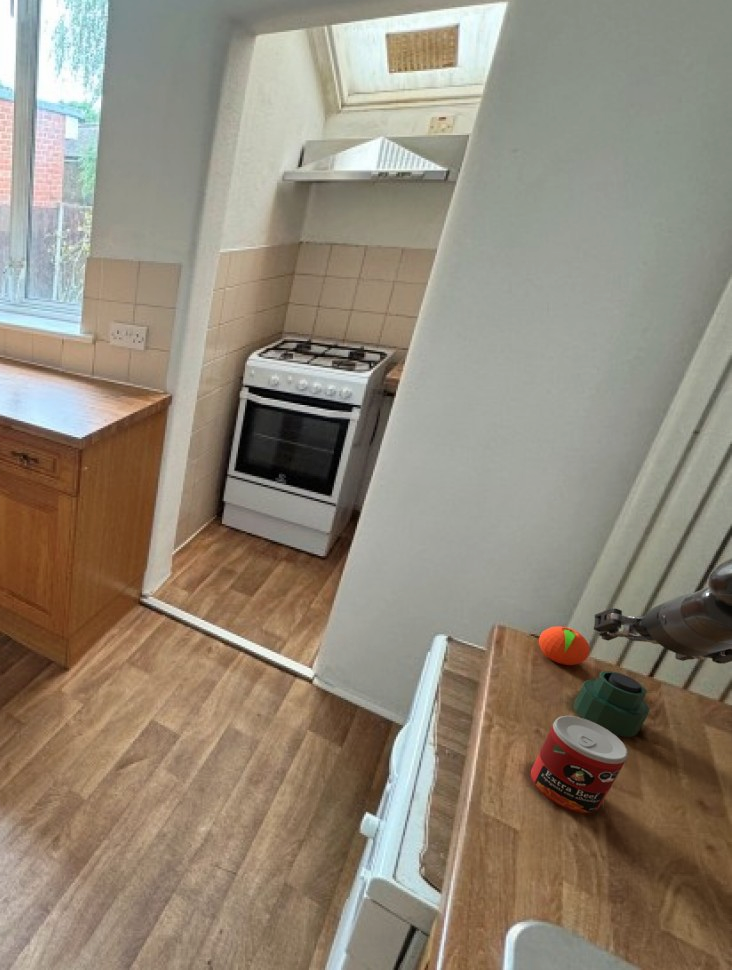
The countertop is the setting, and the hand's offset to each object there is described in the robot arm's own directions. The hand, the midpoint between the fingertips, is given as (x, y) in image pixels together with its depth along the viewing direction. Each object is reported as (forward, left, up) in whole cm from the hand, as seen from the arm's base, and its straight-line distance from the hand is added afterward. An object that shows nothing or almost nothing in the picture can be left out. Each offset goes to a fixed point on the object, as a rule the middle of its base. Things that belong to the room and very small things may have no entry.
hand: (640, 643), depth 97 cm
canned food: (+1, +25, -15) cm, 29 cm away
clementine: (+8, -11, -15) cm, 20 cm away
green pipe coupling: (0, +1, -15) cm, 15 cm away
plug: (0, +1, -15) cm, 15 cm away
